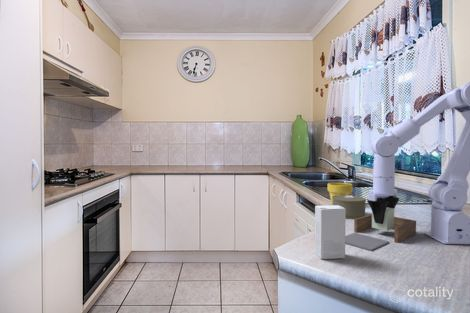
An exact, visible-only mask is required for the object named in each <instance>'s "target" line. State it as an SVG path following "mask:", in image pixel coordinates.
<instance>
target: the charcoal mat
mask: <svg viewBox="0 0 470 313" xmlns="http://www.w3.org/2000/svg"><path fill="white" fill-rule="evenodd" d="M389 243H390V241H388V240H385V239H380V238H378V237H377V238H376V237H373V236H369V235H365V234H360V233H359V232H353V233H350V234H347V235H345V245H349V246H351V247H356V248H359V249H362V250H367V251H369V252H372V251H375V250H376V249H379V248H381V247H383V246H385V245H387V244H389Z"/></svg>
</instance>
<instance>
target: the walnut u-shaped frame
mask: <svg viewBox="0 0 470 313" xmlns="http://www.w3.org/2000/svg"><path fill="white" fill-rule="evenodd" d="M353 220H354V223H353V224H354V226H353V233H359V232H362V231H364V230H368V229H371V228H372V213H371V214H365V216H363V217H360V218H356V219H353ZM392 230H393V231H394V238H393V239H394V243H400V242H401V241H403V240H406V239H408V238H410V237H412V236H415V235H416V234H417V220H414V219H413V220H412V219H409V218H403V217H398V216H394V228H393V229H392Z"/></svg>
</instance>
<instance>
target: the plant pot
mask: <svg viewBox="0 0 470 313" xmlns="http://www.w3.org/2000/svg"><path fill="white" fill-rule="evenodd" d="M327 192H328V194H329V198H330V204H331V205H333V200H332V197H333V196H337V195H350V196H351V194H352V192H353V184H352V183H349V182H328V183H327Z"/></svg>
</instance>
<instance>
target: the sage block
mask: <svg viewBox="0 0 470 313" xmlns="http://www.w3.org/2000/svg"><path fill="white" fill-rule="evenodd" d="M371 214H372V227H371V228H372V229H377V230H380V231H386V232H388V231H391V230H393V228H394V217H395V209H394V208H388V207H387V208H386V211H385V216H384V222H383V224H379V223H375V221H374V216H373V213H372V212H371Z"/></svg>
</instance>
